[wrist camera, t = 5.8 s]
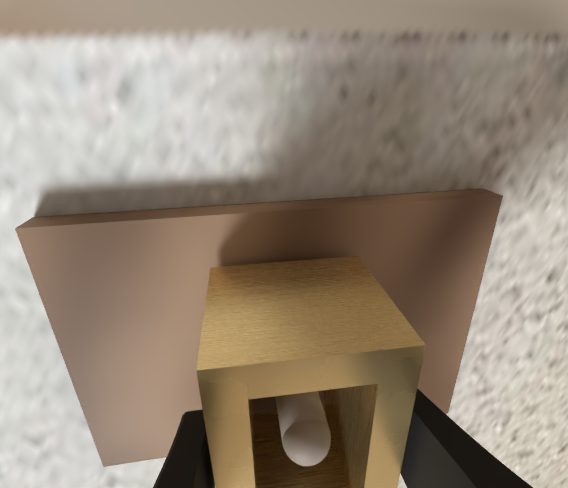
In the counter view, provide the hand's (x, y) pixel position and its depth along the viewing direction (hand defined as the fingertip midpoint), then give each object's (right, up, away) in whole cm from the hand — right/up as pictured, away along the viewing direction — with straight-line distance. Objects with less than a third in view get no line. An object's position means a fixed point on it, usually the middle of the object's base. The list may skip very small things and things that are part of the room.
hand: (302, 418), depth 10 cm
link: (0, +1, +3) cm, 3 cm away
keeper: (-1, +2, +4) cm, 4 cm away
